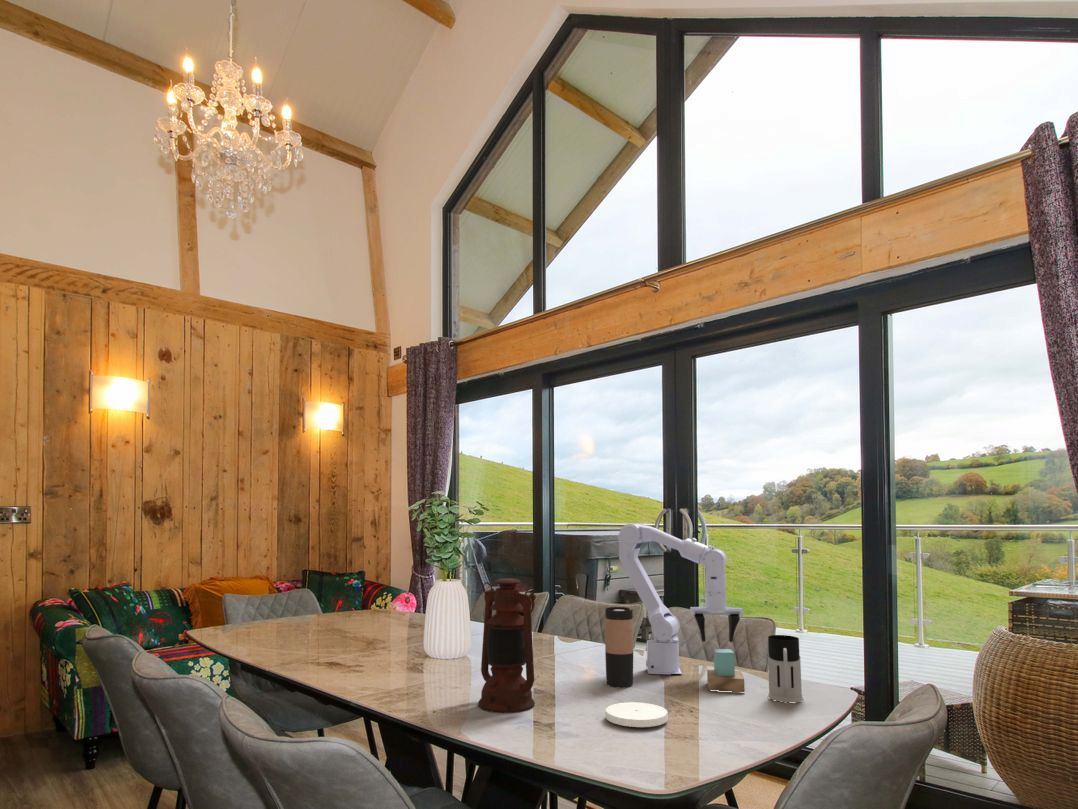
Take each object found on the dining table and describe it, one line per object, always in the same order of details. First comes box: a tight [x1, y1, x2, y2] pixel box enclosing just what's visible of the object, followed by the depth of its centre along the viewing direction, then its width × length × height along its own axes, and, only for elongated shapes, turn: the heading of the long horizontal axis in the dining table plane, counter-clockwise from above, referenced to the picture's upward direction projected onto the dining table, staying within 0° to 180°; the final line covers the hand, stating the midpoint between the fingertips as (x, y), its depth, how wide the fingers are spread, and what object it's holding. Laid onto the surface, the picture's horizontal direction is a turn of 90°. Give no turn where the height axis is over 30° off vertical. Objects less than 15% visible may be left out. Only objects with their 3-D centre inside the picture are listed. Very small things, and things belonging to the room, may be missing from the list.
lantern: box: [477, 577, 537, 714], centre depth 183 cm, size 17×14×30 cm
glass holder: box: [767, 634, 805, 703], centre depth 186 cm, size 9×14×15 cm, turn 164°
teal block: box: [713, 648, 736, 676], centre depth 199 cm, size 4×4×6 cm
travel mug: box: [604, 606, 634, 688], centre depth 202 cm, size 8×8×20 cm
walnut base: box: [706, 669, 746, 692], centre depth 198 cm, size 9×9×4 cm
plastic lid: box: [605, 701, 669, 728], centre depth 169 cm, size 14×14×2 cm
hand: (717, 641), depth 211 cm, fingers open, 7 cm apart
